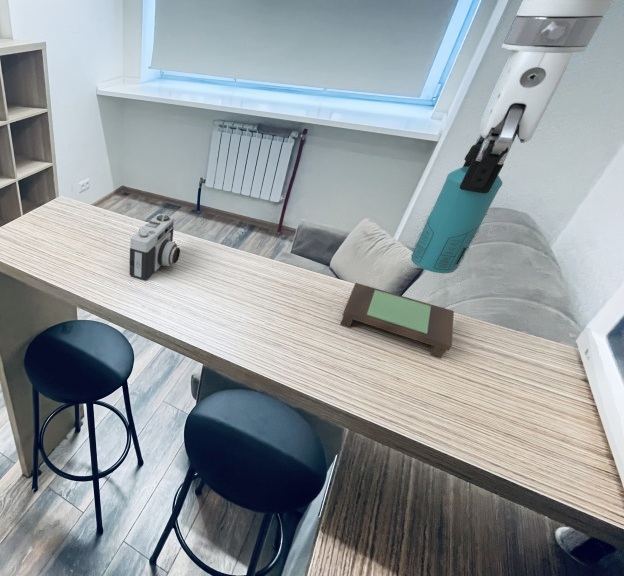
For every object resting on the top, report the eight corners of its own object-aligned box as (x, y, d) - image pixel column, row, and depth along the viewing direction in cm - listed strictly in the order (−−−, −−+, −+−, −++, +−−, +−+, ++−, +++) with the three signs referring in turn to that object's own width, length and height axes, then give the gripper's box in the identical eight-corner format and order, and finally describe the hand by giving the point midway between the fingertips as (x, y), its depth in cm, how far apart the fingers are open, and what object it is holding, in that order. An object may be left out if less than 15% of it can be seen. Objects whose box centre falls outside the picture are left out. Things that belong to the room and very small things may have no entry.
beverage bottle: (451, 287, 63) (524, 156, 51) (402, 273, 66) (460, 148, 55) (454, 268, 67) (522, 144, 55) (407, 256, 70) (462, 137, 59)
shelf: (445, 325, 75) (454, 310, 73) (442, 361, 68) (452, 344, 65) (349, 296, 83) (355, 281, 80) (338, 325, 75) (344, 310, 73)
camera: (161, 286, 87) (164, 245, 81) (128, 276, 90) (128, 235, 84) (187, 257, 96) (191, 218, 91) (155, 248, 100) (157, 211, 94)
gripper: (609, 41, 40) (510, 210, 50) (579, 31, 52) (503, 170, 62) (511, 39, 44) (437, 197, 54) (503, 30, 55) (444, 162, 65)
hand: (473, 181), depth 58 cm, fingers closed on beverage bottle, 6 cm apart
